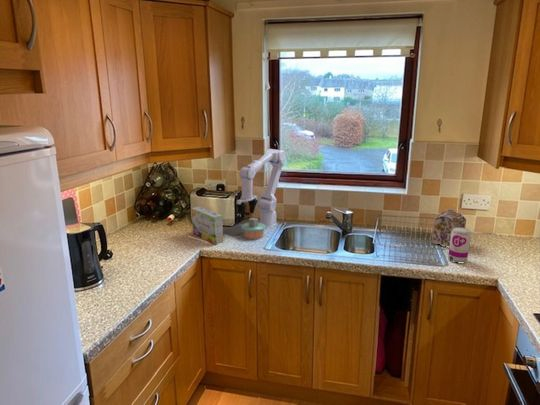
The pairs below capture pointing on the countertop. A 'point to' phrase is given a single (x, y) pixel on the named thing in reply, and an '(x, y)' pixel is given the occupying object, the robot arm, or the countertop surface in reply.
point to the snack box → (207, 225)
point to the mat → (233, 230)
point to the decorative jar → (446, 226)
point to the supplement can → (459, 245)
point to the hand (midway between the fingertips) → (247, 214)
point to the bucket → (254, 234)
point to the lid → (253, 225)
